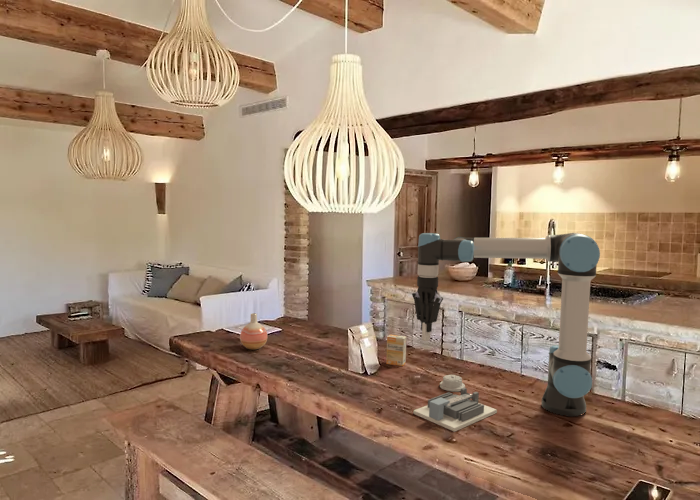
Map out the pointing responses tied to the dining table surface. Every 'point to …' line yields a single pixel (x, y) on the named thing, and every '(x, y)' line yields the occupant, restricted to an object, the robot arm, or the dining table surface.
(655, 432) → the dining table surface
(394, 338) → the supplement box
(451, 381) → the beige hat
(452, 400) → the strap
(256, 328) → the vase
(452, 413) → the mechanical assembly board
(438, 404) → the blue-grey block
